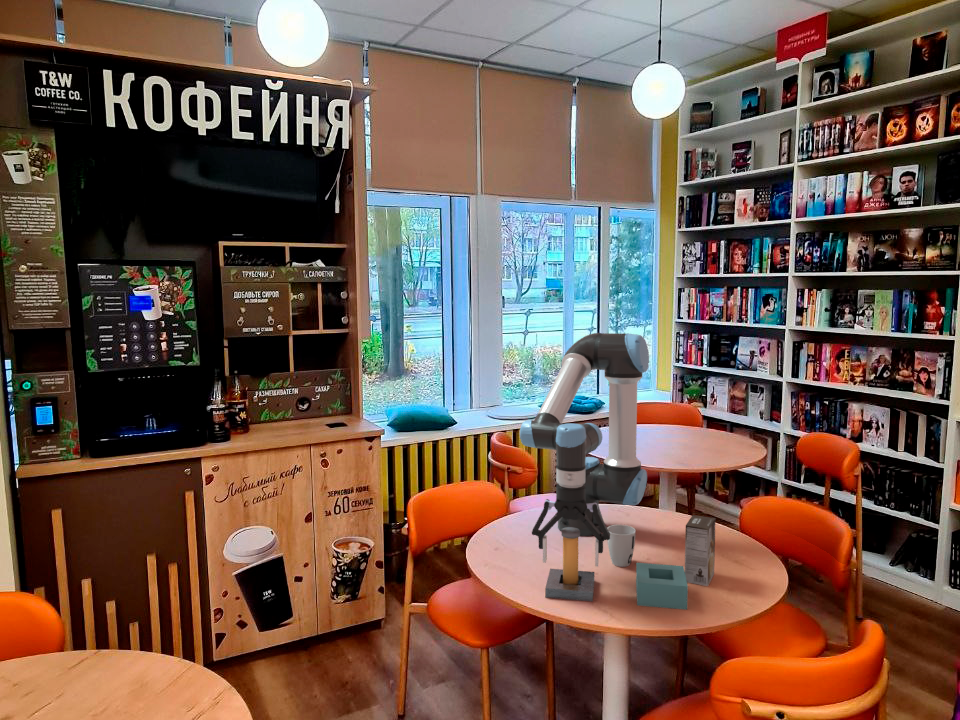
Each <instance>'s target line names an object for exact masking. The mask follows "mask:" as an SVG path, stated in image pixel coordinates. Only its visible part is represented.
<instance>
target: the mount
mask: <svg viewBox="0 0 960 720" xmlns="http://www.w3.org/2000/svg"><path fill="white" fill-rule="evenodd" d="M545 584H546V585H545V598H548V599H558V600H559V599H562V600H569V601H570V600H571V601H585V602H594V600H593V599H594V591H595V590H594V589H595V571H586V570H578V585H569V584H563V568H561V569H559V568H550V569H549V572H548V575H547V579H546V583H545Z"/></svg>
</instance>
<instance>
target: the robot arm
mask: <svg viewBox="0 0 960 720" xmlns="http://www.w3.org/2000/svg"><path fill="white" fill-rule="evenodd" d="M649 363H650V354H649V347H648V344H647V341H646V339H645V338H644V336H642V335H641V334H634V333H629V332H628V333H617V332H616V333H611V332H610V333H603V332H595V333H590V334H587V335H585V336H583V337H581V338H579V339H578V340H576V341H575V342H574V343H573V344H572V345H570V347H569V348H568V349H567V350H566V352H565V354H564V355H563V358H562V359H561V368H560V370H559V372H558V374H557V375H556V378H555V379H554V382H553V383H552V386H551V388H550V389H549V391H548V393H547V395H546V397H545V398H544V401H543V403H542V405H540V406H541V407H540V409H539V411H538V412H537V414H536V416H535V417H534V419H527V420H524V421H523V422H522V423H521V425H520V429H519V439H520V442H521V444H522V445H523V446H525V447H530V448H534V449H544V450H554V451H555V453H556V454H555V455H556V457H555V458H556V466H555V467H556V469H555V474H556V478H555V482H556V485H555V486H556V487H555V489H556V490H555V491H556V494H555V497H556V499H555V501H552V500H550V499H548V498H546V499H545V500H544V503H543V509H542V511H541V513H540V515H539V517H538V518H537V520H536V522H535V524H534V526H533V528H532V531H531V535H533V536H536V537H537V538H538V548H539V549H540V550H542V563H546V562H547V559H548V555H547V554H548V550H547V549H548V546H547V545H548V544H547V543H548V535H547V533H548V532H549V531H551V529H552V527H554V526H555V524H557V528H558V530H560V531H561V530H562V529H563V528H566V527H574V528H577V529H579V530H580V536H581V537H589V536H594V537H595V540H594V541H595V543H594V544H595V545H594V547H595V548H594V550H595V553H594V554H595V555H594V556H595V557H594V559H595V560H594V562H595V563H594V566H595V567H597V568H598V567H599V558H600V557H599V554H603V552H604V541H607V540H609V539H610V533H609V531H608V529H607V528H608V526H607V525H606V523H605V521H604V518H603V515H602V511H601V509H600V506H599V504H600V503H599V502H606V503H613V504H619V505H623V506H626V505H627V506H636V505H637V506H638V505H639V503H640V502H641V501H642V499H643V497H644V494H645V491H646V488H647V487H646V486H647V483H648V482H647V481H648V472H647V470H646V469H645V468H642V462H641V460H639V459H638V457H637V431H638V430H637V422H638V421H637V419H638V417H637V416H638V415H637V414H638V382H639V381H640V380H641V379H643V373H646V372H647V371H648V370H649ZM595 370H599V371H601V370H602V371H604V378H605V379H606V380H607V381H608V383H609V385H608V387H609V388H608V401H609V403H608V456H606V458H605V459H604V460H603V463H602V464H601V462H600V459H599V458H597V457H594V456H586V455H588V454H590V453H592V452H594V451H596V450H597V449H598V447H599V446H600V445H601V443H602V441H603V432H602V430H601V429H600V427H599V426H598V425H596V424H595V423H591V422H586V423H582V424H580V423H570V422H569V423H564V420H565V418H566V416H567V414H568V411H569V410H570V407H571V405H572V404H573V401H574V399H575V397H576V395H577V393H578V390H579V389H580V386H581V385H582V384H583V383H582V382H583V380H584V378H586V377H588V376H589V375H590V374H591V371H595ZM553 507H554V509H555V510H556V511H557V512H556V513H555V515H553V517H551V519H549V521H547V523H546V524H545V525H544V526H543V527H542V528H541V529H540V527H541V525H542V523H543V522H544V520H545V518H546V516H547V514H548V511H550V510H552V508H553ZM580 536H579V537H580Z"/></svg>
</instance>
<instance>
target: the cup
mask: <svg viewBox="0 0 960 720" xmlns="http://www.w3.org/2000/svg"><path fill="white" fill-rule="evenodd" d="M607 529H608V531H609V533H610V539H609V540H606V541H607V546H608V547H607V548H608V553H609V557H610V560H611V561H610V562H612V565H614V566H616V567H621V568H624V567H629V566H630V565H631V562H632V559H633V555H634V550H635V545H636V535H637V534H636V532H637V531H636V528H634V527H633V526H631V525H627V524H613V525H609V526H607Z"/></svg>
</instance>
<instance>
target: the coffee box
mask: <svg viewBox="0 0 960 720" xmlns="http://www.w3.org/2000/svg"><path fill="white" fill-rule="evenodd" d="M716 521H717V520H716V517H709V516H702V515H694V514H693V515H691V517H690V518H689V519H688V521H687V523H686V524H685V535H684V537H685V538H684V539H685V541H684V542H685V544H684V545H685V546H684V547H685V548H684V552H685V553H684V554H685V555H684V572H685V576H686V581H687V584H688V583H689V584H693V585H694V584H695V585H698V586H705V587H709V585H710V583H711V581H712V579H713V577H714V575H715V555H716V554H715V552H716V549H715V548H716Z"/></svg>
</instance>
